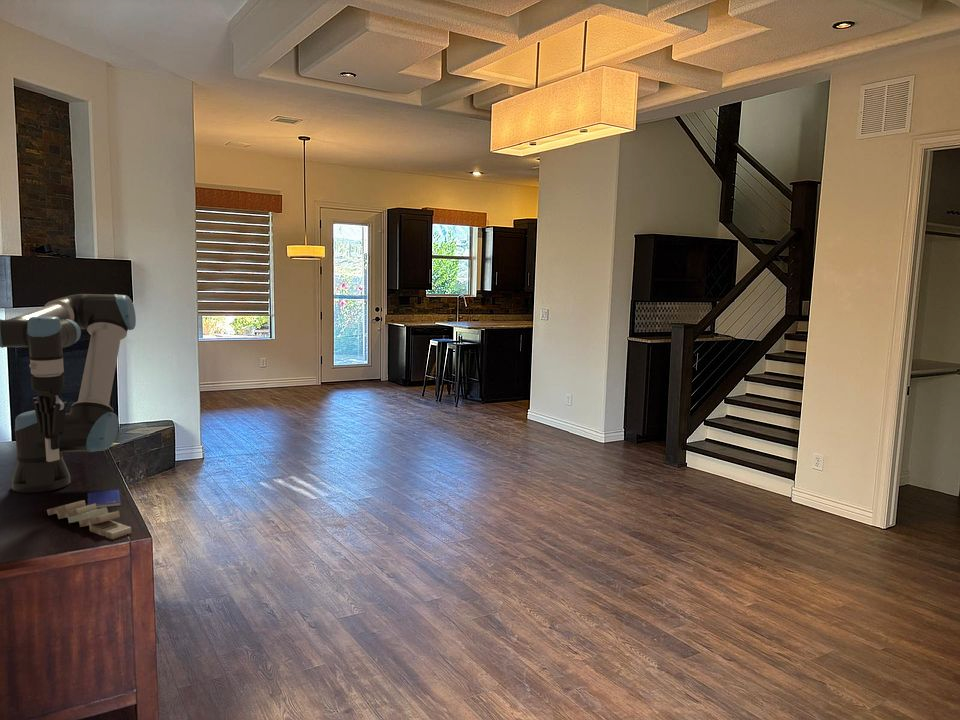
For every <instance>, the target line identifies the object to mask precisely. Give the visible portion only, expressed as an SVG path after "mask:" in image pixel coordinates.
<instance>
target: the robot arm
mask: <svg viewBox="0 0 960 720" xmlns="http://www.w3.org/2000/svg"><path fill="white" fill-rule="evenodd" d="M136 322H137V319H136V310H135V307H134V303H133V301H132V299H131V298H130V296H128V295H126V294H116V293H114V294H100V293H97V294H96V293H95V294H94V293H78V294H70V295H67V296H63V297H59V298H56V299H54V300H53V299H52V300H50V301H47V303H45V304H44V306H43V307H40V308H37V309H35V310H31V311H28V312H27V313H23V314H20V315H18V316H15V317H12V318H8V319H1V318H0V348H1V349H3V348H28V350H29V351H28V352H29V353H28V354H29V364H28V366H29V368H30V374H31V377H30V383H31V390H32V391H34V392H37V393H36V397H33V398H31V402H32V404H33V406H34V409H33V410H29V411H25V412H22V413H20V414H18V415H17V416H16V417H15V420H14V421H15V422H14V432H15V433H14V435H15V445H16V460H17V464H16V467H15V470H14V473H13V477H12V480H11V490H12V491H14V492H17V493H24V494H27V493H28V494H30V493H31V494H32V493H41V492H42V493H44V492H50V491H53V490H58V489H61V488H64V487H67V486H68V485H70V484H71V474H70V472H69V471H70V470H69V469H68V467H67V465H66V463H65V460H64V458H63V452H65V453H66V452H68V453H69V452H71V453H74V452H75V453H76V452H90V453H94V452H99V451H100V452H101V451H103V452H104V451H106V450H108V449H109V448H110V447H112V445H113V444H114V442H115V440H116V438H117V436H118V435H117V434H118V429H119V426H118V425H119V418H118V415H117V414H116V413H114V408H113V407H112V406H111V405H110V401H111V397H112V389H113V386H114V379H115V374H116V369H117V362H118V356H119V352H120V351H119V350H120V347H121V346H120V344H121V341H122V340H124V339H125V338H126V337H127V334H128V331H133V330H134V329H135V327H136V324H137V323H136ZM82 330H86V331H87V332H88V334H89V335H90V338H89V339H90V340H89V345H88V348H87V349H88V350H87V354H86V360H85V364H84V370H83V374H82V379H81V384H80V388H79V394H78V399H77V401H75V402H73V403H72V404H71V406H70V411H69V412H66V410H67V407H68V403H67V401H64V402H63V401H62V395H61V392H60V391H61V390H62V389H64V388H65V375H64V374H63V373H64V372H65V370H64V369H65V368H64V357H63V356H64V354H63V353H64V352H63V348H67V347H71V346H73V345H74V344H76V343H77V342H78V341H79V340H80V338H81V335H82Z"/></svg>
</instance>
